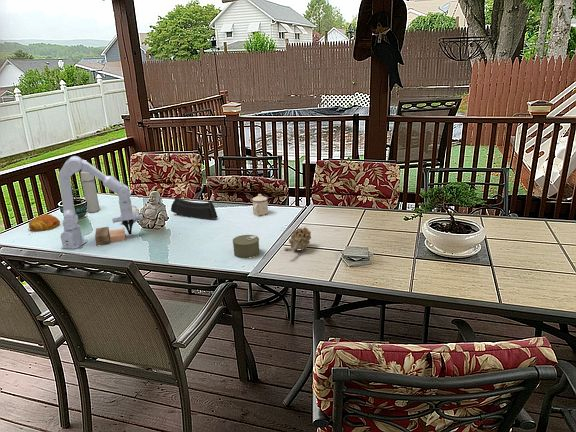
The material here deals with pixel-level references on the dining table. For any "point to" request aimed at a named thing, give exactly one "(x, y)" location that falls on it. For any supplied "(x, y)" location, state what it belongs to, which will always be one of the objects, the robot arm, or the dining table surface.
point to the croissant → (43, 223)
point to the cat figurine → (134, 211)
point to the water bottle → (90, 192)
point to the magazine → (193, 209)
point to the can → (246, 246)
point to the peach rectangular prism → (117, 235)
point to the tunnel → (102, 236)
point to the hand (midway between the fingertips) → (130, 233)
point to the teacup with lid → (260, 205)
